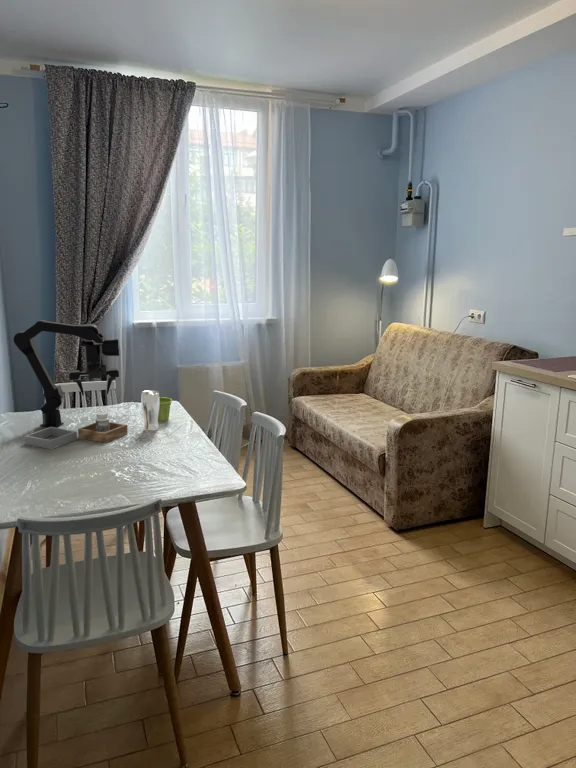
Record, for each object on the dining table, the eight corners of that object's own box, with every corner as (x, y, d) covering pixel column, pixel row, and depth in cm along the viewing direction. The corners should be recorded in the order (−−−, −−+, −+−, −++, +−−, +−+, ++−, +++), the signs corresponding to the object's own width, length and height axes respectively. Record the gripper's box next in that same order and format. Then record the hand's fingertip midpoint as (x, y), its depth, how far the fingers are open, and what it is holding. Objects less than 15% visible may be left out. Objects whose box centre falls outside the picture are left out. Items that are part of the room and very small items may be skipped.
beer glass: (162, 426, 233) (161, 390, 230) (157, 432, 226) (156, 394, 223) (145, 426, 234) (144, 389, 230) (139, 431, 227) (138, 394, 224)
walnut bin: (78, 437, 218) (78, 428, 217) (101, 428, 229) (101, 420, 228) (105, 442, 213) (104, 433, 212) (127, 433, 224) (127, 424, 223)
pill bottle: (98, 432, 223) (97, 411, 221) (110, 432, 223) (109, 411, 221) (95, 436, 218) (94, 414, 216) (108, 436, 219) (107, 414, 217)
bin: (24, 443, 210) (24, 436, 209) (51, 434, 221) (51, 426, 221) (51, 449, 205) (50, 441, 205) (77, 439, 216) (76, 431, 216)
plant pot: (176, 418, 246) (175, 398, 244) (166, 424, 237) (166, 403, 235) (155, 416, 248) (155, 396, 246) (145, 422, 239) (145, 401, 237)
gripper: (68, 361, 219) (70, 401, 223) (119, 359, 226) (121, 397, 229) (67, 356, 229) (70, 394, 233) (116, 354, 236) (118, 391, 239)
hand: (95, 394), depth 233 cm, fingers open, 9 cm apart
